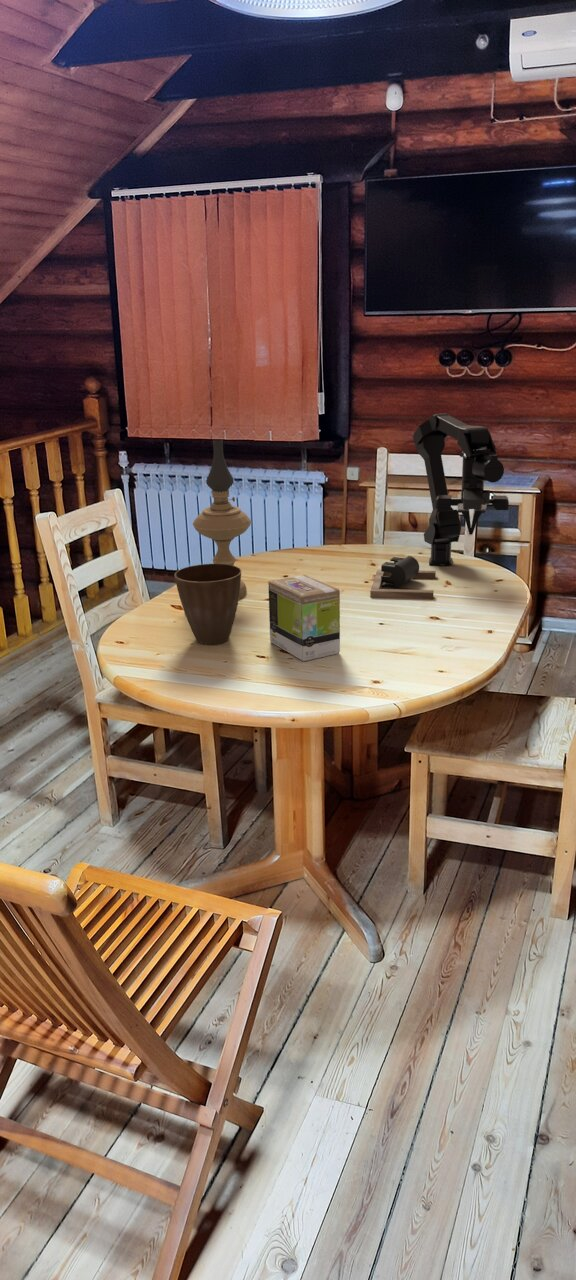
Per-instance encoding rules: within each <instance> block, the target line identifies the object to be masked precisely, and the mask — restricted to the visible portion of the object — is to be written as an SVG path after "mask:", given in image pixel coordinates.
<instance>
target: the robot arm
mask: <svg viewBox="0 0 576 1280" xmlns="http://www.w3.org/2000/svg"><path fill="white" fill-rule="evenodd" d="M448 437H451V438H452V439H454V440H456V442H457V443H456V444H457V446H458V447H459V448H460V449H462V451H461V452H460V453H459V457H460V458H462V470H461V476H462V477H461V494H460V498H452V495H451V494H449V492H448V491H449V490H448V487H447V481H446V475H445V469H444V465H443V458H442V454H443V453H444V449H445V448H446V439H447V438H448ZM412 439H413V443H414V446H415V450H416V452H417V453H418V455H420V456H421V459H423V461H424V465H425V472H426V478H427V483H428V489H429V495H430V500H431V506H432V511H431V514H430V516H429V519H428V525H429V526H428V527H427V528H426V530H425V532H424V533H423V540H424V542H425V543H426V544H429V545H430V557H429V559H428V560H429V561H428V565H429V566H453V557H452V543H457V542H459V539H460V536H461V531H462V523H461V521H460V514H462V516H463V518H464V521H465V524H466V528H467V531H468V534H469V535H473V533H474V531H475V528H476V526H477V524H478V521H479V518H480V517H481V515H482V514H486V513H487V507H493V508H494V510H495V511H508V510H509V505H510V504H509V503H510V502H509V501H510V500H509V497H508V496H507V495H492V498H490V497H491V490H489V489H485V481H486V482H489V483H497V482H499V481H501V479H502V477H503V476H504V473H505V468H504V464H503V463H502V462H501V460H498V459H499V457H498V455H497V450H496V449H497V447H496V445H495V442H494V441H493V438H492V434H491V432H490V430H489V429H488V427H485V426H482V425H469V424H467V423H465V422H463V421H461V420H459V419H457V418H456V417H453V416H451V414H449V413H446V412H444V413H435V414H432V415H431V417H430V418H429V419H427V420H426V421H425V422H422V424H420V425H418V427H417V428H416V430H415V431H414V433H413V436H412ZM453 507H457V509H454V508H453ZM470 510H473V514H472V519H471V515H470V514H471V513H470V512H471V511H470Z"/></svg>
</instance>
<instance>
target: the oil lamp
mask: <svg viewBox="0 0 576 1280" xmlns="http://www.w3.org/2000/svg"><path fill="white" fill-rule="evenodd" d="M223 441H224V440H222V439H214V440H212V444H213V445H212V446H213V447H212V449H213V459H212V463H211V467H210V470H209V472H208V475H207V478H206V482H205V483H206V485H207V486H208V487H209V488H210V489H211V498H213V502H212V503H211V505H210V506H209V507H205V508H203V509H202V512H200V513H199V514H198V515H197V516H196V518H195V519H194V520H193V522H192V526H193V527H194V529H195V531H197V532H198V534H200V535H202V536H204V537H206V538H208V539H211V540H212V541H213V542H215V544H216V546H217V551H216V553H215V555H214V557H213V558H212V564H227V565H233V566H235V565H234V564H235V562H236V561H237V559H236V558H235V556H234V555H233V553H231V550H230V545H231V542H232V541H233V540H234V539H235V538H237V537H240V536H241V535H242V534H244V533H246V532H247V530H248V529H249V527H250V526H251V525H252V520H251V518H250V517H249V516H248V515H247V513H245V512H244V511H243V510H241V508H240V507H239V506H236V505H232V504H231V501H232V502H233V503H235V501H236V498H235V497H234V496H233V497H232V498H231V499H229V497H230V489H231V487H232V486H233V484H234V482H235V481H234V477H233V475H232V473H231V471H230V469H229V468H228V466H227V463H226V460H225V455H224V443H223ZM247 590H248V589H247V586H246V583H245V582H244V581H243V580H242V579H241V582H240V592H239V599H242V598H244V597H246V596H247V593H248V592H247Z"/></svg>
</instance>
